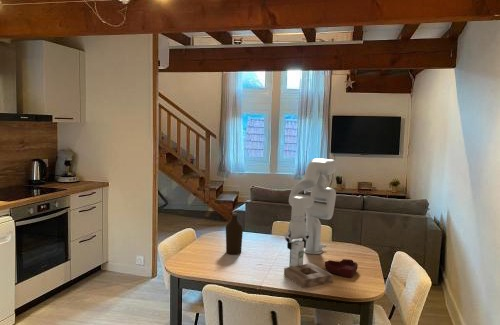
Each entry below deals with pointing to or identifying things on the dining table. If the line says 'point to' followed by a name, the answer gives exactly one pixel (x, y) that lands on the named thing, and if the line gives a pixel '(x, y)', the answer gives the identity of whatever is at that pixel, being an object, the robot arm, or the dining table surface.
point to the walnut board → (308, 275)
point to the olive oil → (234, 236)
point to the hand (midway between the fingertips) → (296, 248)
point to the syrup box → (296, 253)
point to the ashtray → (342, 267)
